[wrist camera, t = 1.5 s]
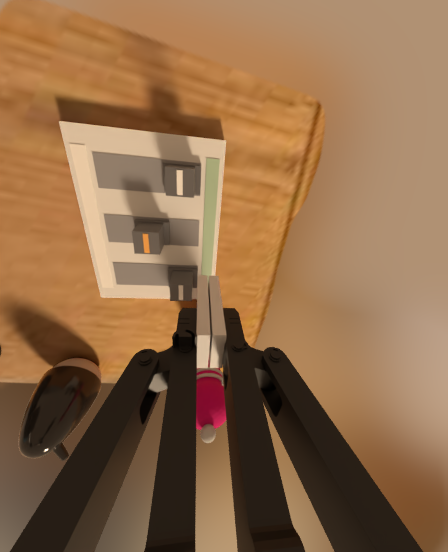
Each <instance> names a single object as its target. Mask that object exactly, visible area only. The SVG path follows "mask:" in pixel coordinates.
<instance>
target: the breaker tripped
mask: <svg viewBox="0 0 448 552" xmlns="http://www.w3.org/2000/svg"><path fill="white" fill-rule="evenodd" d="M134 224H135V228H134V229H133V230H132V237H133V245H134V253H135V254H155V255H160V253H161V251H162V249H163V246H164V245H170V221H160V220H145V219H135V220H134Z"/></svg>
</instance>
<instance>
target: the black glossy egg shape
mask: <svg viewBox="0 0 448 552" xmlns="http://www.w3.org/2000/svg"><path fill="white" fill-rule="evenodd" d="M100 389H101V372H100V370H99V368H98V366H97V365H96V364H95V363H93V362H92V361H90V360H87V359H83V358H71V359H67V360H64V361H62V362H60V363H58V364H57V365H56V366H54V367H53V368H52V369H50V370H48V371H47V372H46V373H45V374H44V375H43V377H42V378H41V380H40V381H39V383H38V385H37V387H36V389H35V390H34V392H33V395H32V396H31V399H30V401H29V403H28V406H27V408H26V411H25V414H24V417H23V421H22V424H21V428H20V433H19V450H20V452H21V454H22V455H24V456H25V457H27V458H32V459H34V458H40V457H43V456H45V455H47V454H49V453H50V452H51V451H53V452H54V453H55V454H56V455H57V456H58V457H59V458H60V459H61V460H62V461H64V460H66V459H67V458H68V456H69V453H68V452H67V450H66V448H65V447H64V445H63V443H62V442H63V441H64V440H65V439H66V438H67V437H68V436H69V435H70V434H71V433H72V432H73V430H74V429H75V428H76V427H77V426H78V424H79V423H80V422H81V420H82V419H83V418H84V416H85V415H86V414H87V412H88V411H89V409H90V407H91V406H92V404H93V402H94V401H95V399H96V397H97V395H98V393H99V391H100Z"/></svg>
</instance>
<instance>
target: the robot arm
mask: <svg viewBox="0 0 448 552" xmlns="http://www.w3.org/2000/svg"><path fill="white" fill-rule="evenodd" d="M172 339H173V346H172V347H170V348H169V349H167V350H165V351H162V352H159V353H157V352H156V351H154V350H152V349H144V350H141V351H139V352H138V353H136V354H135V355H134V356H133V358H132V359H131V361H130V362H129V364H128V366H127V367H126V369H125V370H124V372H123V374H122V375H121V377H120V378H119V380H118V381H117V383H116V385H115V386H114V388H113V389H112V391H111V393H110V394H109V396H108V397H107V399H106V400H105V402H104V404H103V405H102V407H101V408H100V410H99V412H98V413H97V415H96V416H95V418H94V419H93V421H92V423H91V424H90V426H89V427H88V429H87V431H86V432H85V434H84V435H83V437H82V439H81V440H80V442H79V443H78V445H77V446H76V448H75V450H74V451H73V453H72V454H71V456H70V458H69V459H68V461H67V462H66V464H65V465H64V467H63V469H62V470H61V472H60V473H59V475H58V476H57V478H56V480H55V481H54V483H53V484H52V486H51V488H50V489H49V491H48V492H47V494H46V496H45V497H44V499H43V500H42V502H41V503H40V505H39V507H38V508H37V510H36V512H35V513H34V515H33V516H32V518H31V519H30V521H29V522H28V524H27V526H26V527H25V529H24V530H23V532H22V533H21V535H20V537H19V538H18V540H17V542H16V543H15V545H14V546H13V548H12V549H11V551H10V552H94V551H95V548H96V546H97V544H98V541H99V539H100V536H101V534H102V531H103V529H104V527H105V524H106V522H107V519H108V517H109V514H110V512H111V510H112V507H113V505H114V503H115V500H116V498H117V496H118V493H119V491H120V488H121V486H122V483H123V481H124V478H125V476H126V474H127V471H128V469H129V467H130V464H131V462H132V459H133V457H134V455H135V452H136V450H137V447H138V445H139V442H140V440H141V438H142V435H143V433H144V431H145V428H146V426H147V423H148V421H149V419H150V416H151V414H152V411H153V409H154V406H155V404H156V402H157V399H158V397H159V394H160V392H161V391H162V390H165V389H167V395H166V403H165V410H164V417H163V424H162V432H161V440H160V446H159V454H158V461H157V469H156V476H155V483H154V491H153V498H152V506H151V513H150V520H149V528H148V535H147V542H146V548H145V551H144V552H195V498H196V497H195V495H196V396H197V368H208V360H210V368H222V365H223V377H222V384H223V386H224V397H225V409H226V420H227V432H228V443H229V455H230V466H231V477H232V489H233V500H234V511H235V524H236V535H237V548H238V552H305V550H304V546H303V544H302V541H301V539H300V537H299V535H298V533H297V532H296V530H295V529H294V527H293V525H292V521H291V518H290V513H289V509H288V505H287V501H286V497H285V493H284V489H283V484H282V480H281V476H280V472H279V468H278V464H277V459H276V456H275V451H274V447H273V443H272V439H271V434H270V431H269V426H268V422H267V418H266V414H265V409H264V406H263V403H264V405H265V407H266V409H267V411H268V413H269V416H270V417H271V420H272V421H273V424H274V426H275V428H276V430H277V432H278V434H279V436H280V438H281V441H282V442H283V445H284V447H285V449H286V451H287V453H288V455H289V457H290V459H291V461H292V463H293V465H294V468H295V470H296V472H297V474H298V476H299V478H300V480H301V482H302V484H303V486H304V489H305V491H306V493H307V495H308V497H309V499H310V501H311V503H312V505H313V507H314V510H315V511H316V514H317V516H318V518H319V520H320V522H321V524H322V526H323V528H324V530H325V533H326V535H327V537H328V539H329V541H330V543H331V545H332V547H333V549H334V551H335V552H423V551H422V549H421V548H420V547H419V545H418V544H417V542H416V541H415V539H414V538H413V537H412V535H411V534H410V532H409V531H408V529H407V528H406V526H405V525H404V524H403V523H402V521H401V519H400V518H399V516H398V515H397V514H396V512H395V511H394V509H393V508H392V507H391V505H390V504H389V502H388V501H387V499H386V498H385V497H384V495H383V494H382V492H381V491H380V489H379V488H378V486H377V485H376V484H375V482H374V481H373V479H372V478H371V477H370V475H369V473H368V472H367V471H366V469H365V468H364V466H363V465H362V464H361V462H360V461H359V459H358V458H357V456H356V455H355V454H354V452H353V451H352V449H351V448H350V446H349V445H348V443H347V442H346V441H345V439H344V438H343V437H342V435H341V433H340V432H339V431H338V429H337V428H336V426H335V425H334V423H333V422H332V421H331V419H330V418H329V417H328V415H327V413H326V412H325V411H324V409H323V408H322V406H321V405H320V404H319V402H318V400H317V399H316V398H315V396H314V395H313V393H312V392H311V391H310V389H309V388H308V386H307V385H306V383H305V382H304V380H303V379H302V378H301V376H300V375H299V373H298V372H297V370H296V369H295V368H294V366H293V365H292V363H291V362H290V360H289V359H288V358H287V356H286V355H285V354H284V353H283V351H281V350H280V349H278V348H275V347H269V348H267V349H265V350H264V351H260V350H256V349H254V348H252V347H250V346H249V345H248V343H247V342H246V341H245V338H244V334H243V330H242V325H241V321H240V317H239V313H238V312H237V311H236V309H235V308H223V306H222V299H221V292H220V285H219V278H218V276H209V282H208V277H207V275H198V291H197V308H182V310H181V311H180V312H179V317H178V324H177V331H176V332H175V333H174V334H173V337H172ZM0 355H1V347H0Z"/></svg>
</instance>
